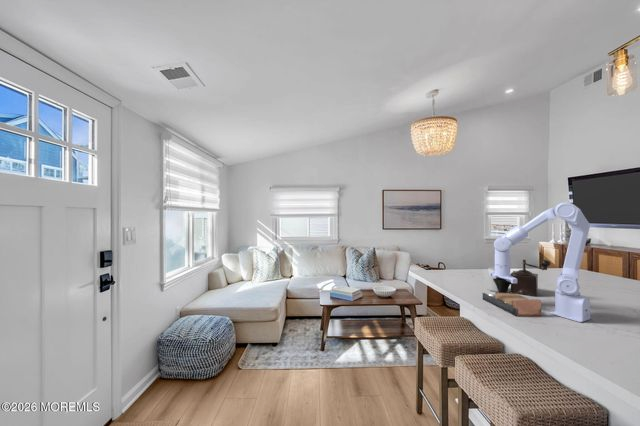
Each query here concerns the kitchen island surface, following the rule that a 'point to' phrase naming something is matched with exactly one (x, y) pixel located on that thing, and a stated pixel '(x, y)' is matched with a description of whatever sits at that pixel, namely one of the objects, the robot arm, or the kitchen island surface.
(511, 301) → the tan flat block
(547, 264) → the manual coffee grinder
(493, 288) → the can
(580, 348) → the kitchen island surface
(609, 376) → the kitchen island surface
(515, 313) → the roller bed
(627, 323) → the kitchen island surface
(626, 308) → the kitchen island surface
